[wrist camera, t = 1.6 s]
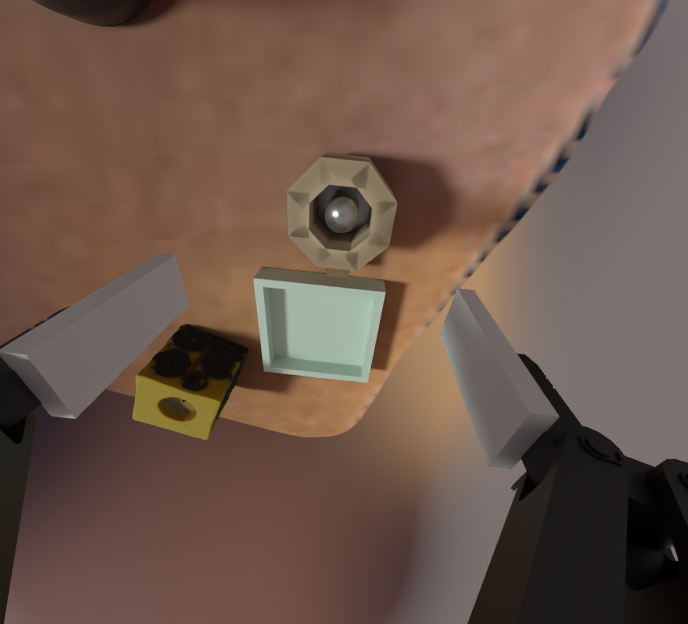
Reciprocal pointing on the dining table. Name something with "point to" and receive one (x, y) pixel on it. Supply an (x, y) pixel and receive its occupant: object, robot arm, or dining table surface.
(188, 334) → the yellow cube with holes
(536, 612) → the robot arm
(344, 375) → the tray
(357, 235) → the ring
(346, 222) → the grey peg stand
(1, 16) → the dining table surface
